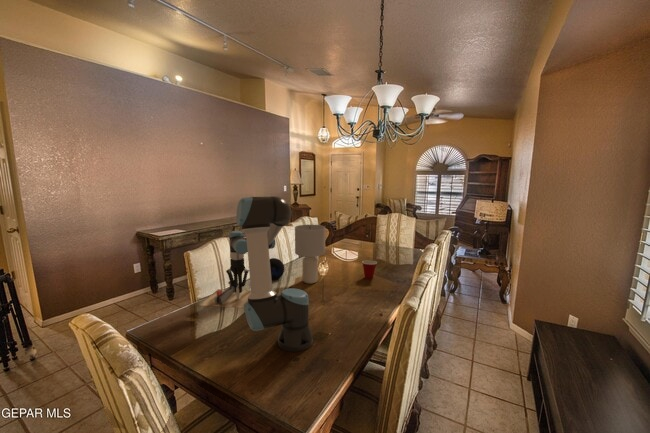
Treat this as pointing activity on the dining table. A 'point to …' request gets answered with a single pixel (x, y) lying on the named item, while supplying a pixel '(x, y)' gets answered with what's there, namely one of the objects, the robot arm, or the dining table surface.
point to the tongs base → (222, 294)
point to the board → (228, 300)
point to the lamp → (310, 249)
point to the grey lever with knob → (226, 295)
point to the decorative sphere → (276, 268)
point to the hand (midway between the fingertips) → (238, 297)
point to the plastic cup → (369, 268)
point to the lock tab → (219, 292)
